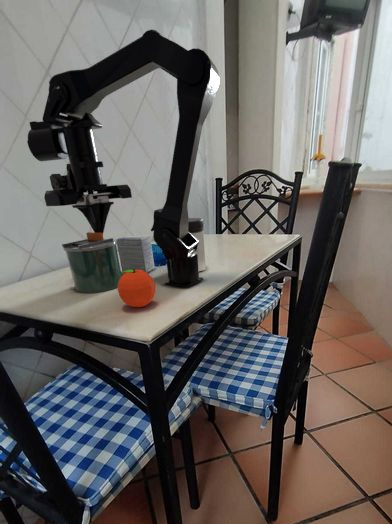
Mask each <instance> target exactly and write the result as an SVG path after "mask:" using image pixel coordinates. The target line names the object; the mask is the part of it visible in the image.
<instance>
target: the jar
mask: <svg viewBox="0 0 392 524" xmlns="http://www.w3.org/2000/svg"><path fill="white" fill-rule="evenodd" d="M204 226H205V225H204V219H203V218H201V217H189V226H188V232H189V233H190V234H191V235H193V236H194V237H195V238H196V239H197V240H198V241H199V244H198V248H197V251H195V252H194V253H195V254H197V255H198V270H199V272H203V271H206V270H207V269H206V254H205V253H206V251H205V233H204V232H205V231H204Z"/></svg>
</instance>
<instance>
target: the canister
mask: <svg viewBox="0 0 392 524" xmlns="http://www.w3.org/2000/svg"><path fill="white" fill-rule="evenodd" d="M103 239H104V240H101V241H96V242H92V243H87V244H83V245H78V246H74V245H72V243H77V242H82V241H86V240H88V238H85V239H80V240H75V241H71V242H66V243H62V244H61V247H62V249H63V251H64V252H65V254H66V259H67V262H68V265H69V270H70V273H71V277H72V281H73V285H74V289H75V290H76V291H77V292H79V293H84V294H85V293H87V294H92V293H100V292H102V293H103V292H107V291H110V290H114V289H117V288H118V283H119V280H120V278H121V276H122V275H123V274H122V273H121V272H122V268H121V263H120V258H119V252H118V247H117V241H116V239H114V238H113V237H110V238H103ZM118 274H119V275H118ZM117 275H118V276H117ZM116 276H117V277H116ZM115 278H116V280H115ZM114 282H115V283H114Z"/></svg>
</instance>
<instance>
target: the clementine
mask: <svg viewBox="0 0 392 524" xmlns="http://www.w3.org/2000/svg"><path fill="white" fill-rule="evenodd" d="M118 275H119V274H118ZM118 275H117V276H118ZM121 275H122V276H121V278H120V280H119V283H118V287H117V293H118V296H119V298H120V299H121V300H122V302H123V303H125V304H126V305H127V306H129V307H132V308H141V307H146V306H147V305H149V304H150V303H151V302H152V300H153V299H154V297H155V296H156V283H155V281H154V279H153V277H152V276H151V275H150V274H149V272H147V273H146V272H144V271H142V270H135V269H133V270H126V271H123V272H122V271H121ZM117 276H116V277H117ZM115 280H116V278H115ZM114 283H115V282H114Z"/></svg>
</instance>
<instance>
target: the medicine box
mask: <svg viewBox="0 0 392 524" xmlns="http://www.w3.org/2000/svg"><path fill="white" fill-rule="evenodd" d="M115 240H116V241H117V244H116V248H117V253H118V258H119V264H120V269H121V272H123V271H126V270H133V269H135V270H142V271H144V272H146V273H150V272H152V271H154V269H155V268H156V267H155V261H154V254H153V248H152V240H151V236H150V235H124V236H121V237H118V238H116V239H115ZM123 273H124V272H123Z"/></svg>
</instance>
